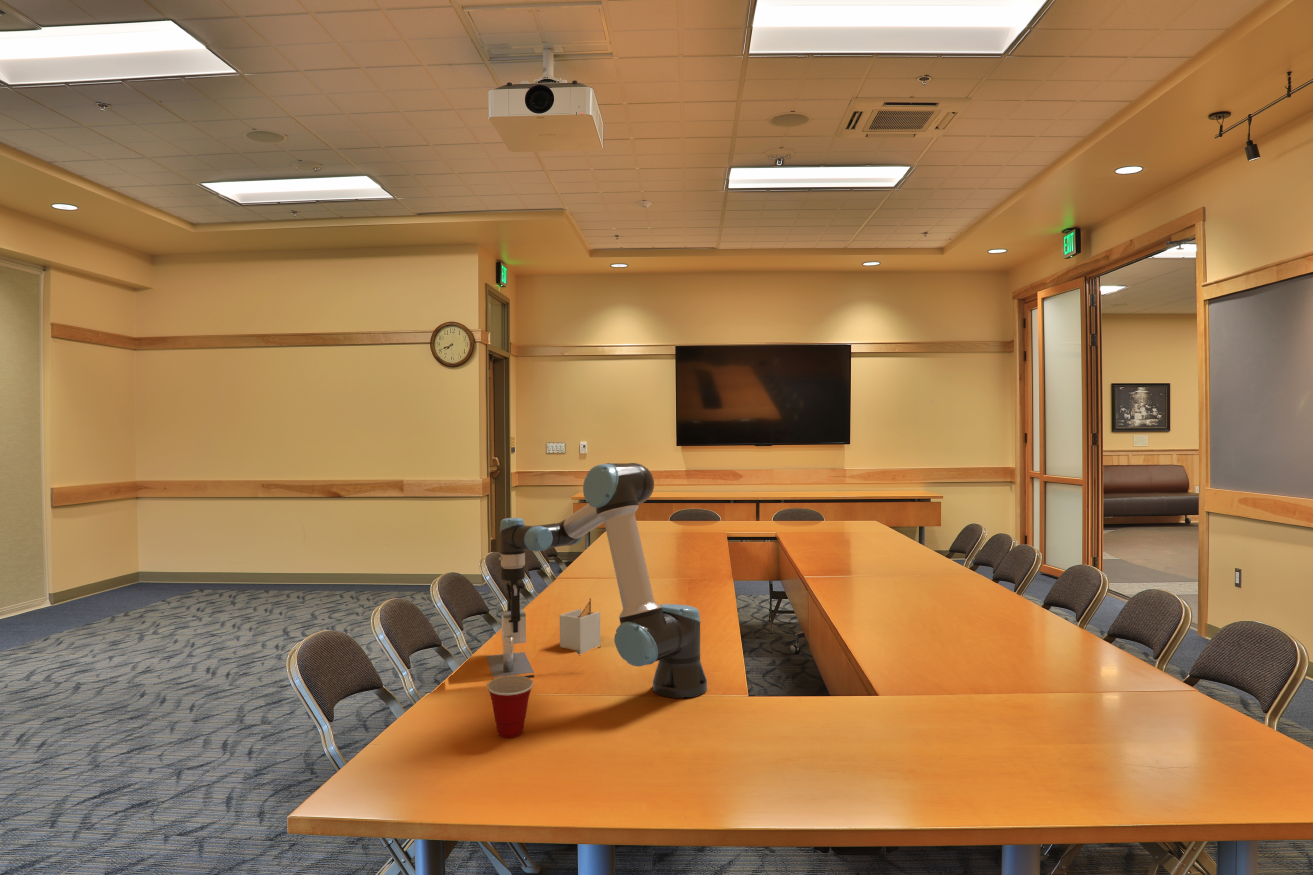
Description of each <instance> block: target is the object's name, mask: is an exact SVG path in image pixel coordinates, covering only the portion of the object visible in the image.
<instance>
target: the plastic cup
mask: <svg viewBox="0 0 1313 875" xmlns="http://www.w3.org/2000/svg"><path fill="white" fill-rule="evenodd" d="M524 676H525V675H519V674H516V675H507V676H498V677H494V678H493V680H492V679H491V680H490V681H489V682H488V683H487V684H486V687H487V691H488V692H489V696H490V699H491V704H492V711H493V716H494V722H495V726H496V732H497V735H498V737H500V738H502V739H511V738H512V739H513V738H516V737H519V736H521V735H522V734H523V731H524V729H525V728H524V727H525V721H526V716H527V710H528V706H529V705H528V704H529V700H530V699H529V698H530V694H531V690H532V688H533V687H534V680H532V678H528V677H524Z"/></svg>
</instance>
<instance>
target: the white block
mask: <svg viewBox="0 0 1313 875" xmlns="http://www.w3.org/2000/svg"><path fill="white" fill-rule="evenodd" d="M526 616H527V614H526V612H525V610H524V609H520V621H519V623H520V642H518V643H513V645H517V644H518V645H519V644H526V643H527V626H526V625H527V619H526V618H527V617H526ZM509 620H511V611H507V610H504V611H503V610H502V611H501V641H502V642H503V637H504V636H511V625H510V622H509Z"/></svg>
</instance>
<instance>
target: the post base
mask: <svg viewBox="0 0 1313 875" xmlns="http://www.w3.org/2000/svg"><path fill="white" fill-rule="evenodd" d="M486 659H487V663H488V666H489V670H490V673H491V677H492V678H493V679H494V678H498V677H502V676H509V675H522V674H528V675H523V676H524V677H528V678H530V679H533V678H535V674H534V673H535V672H534V669H533V668H532V665H531V662H530V661H529V659H528V657H527V655H526V653H525V652H524V651H522V652H521V651H520V652H514V644H513V636H504V637H503V641H502V653H501V654H491V655H486ZM529 674H530V675H529ZM492 678H491V680H493V679H492Z"/></svg>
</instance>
